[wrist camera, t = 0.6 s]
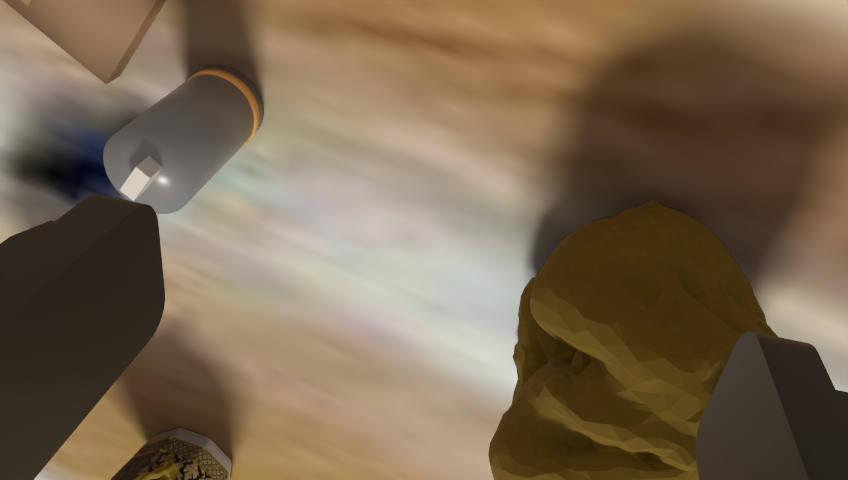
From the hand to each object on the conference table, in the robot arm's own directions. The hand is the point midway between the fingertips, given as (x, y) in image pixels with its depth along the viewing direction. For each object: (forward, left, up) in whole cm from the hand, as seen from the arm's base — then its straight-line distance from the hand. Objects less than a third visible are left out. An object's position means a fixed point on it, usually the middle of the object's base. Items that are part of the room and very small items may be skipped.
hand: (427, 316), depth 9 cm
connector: (+16, -6, -23) cm, 29 cm away
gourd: (+8, +17, -24) cm, 30 cm away
